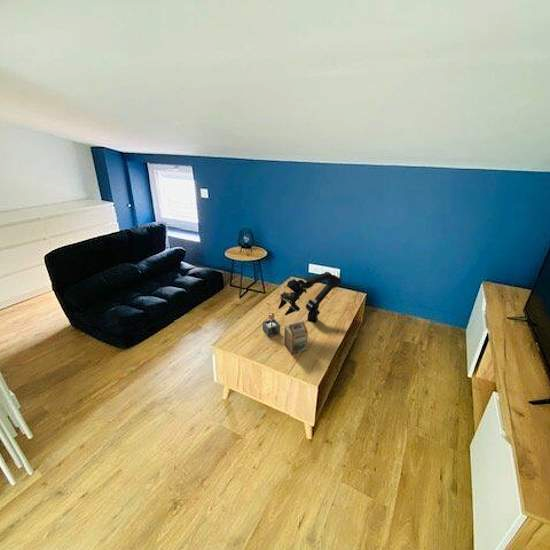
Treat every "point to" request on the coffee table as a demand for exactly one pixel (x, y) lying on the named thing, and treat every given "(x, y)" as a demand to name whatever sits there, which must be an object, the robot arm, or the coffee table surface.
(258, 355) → the coffee table surface
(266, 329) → the press
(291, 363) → the coffee table surface
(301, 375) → the coffee table surface
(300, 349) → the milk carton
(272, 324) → the plunger
